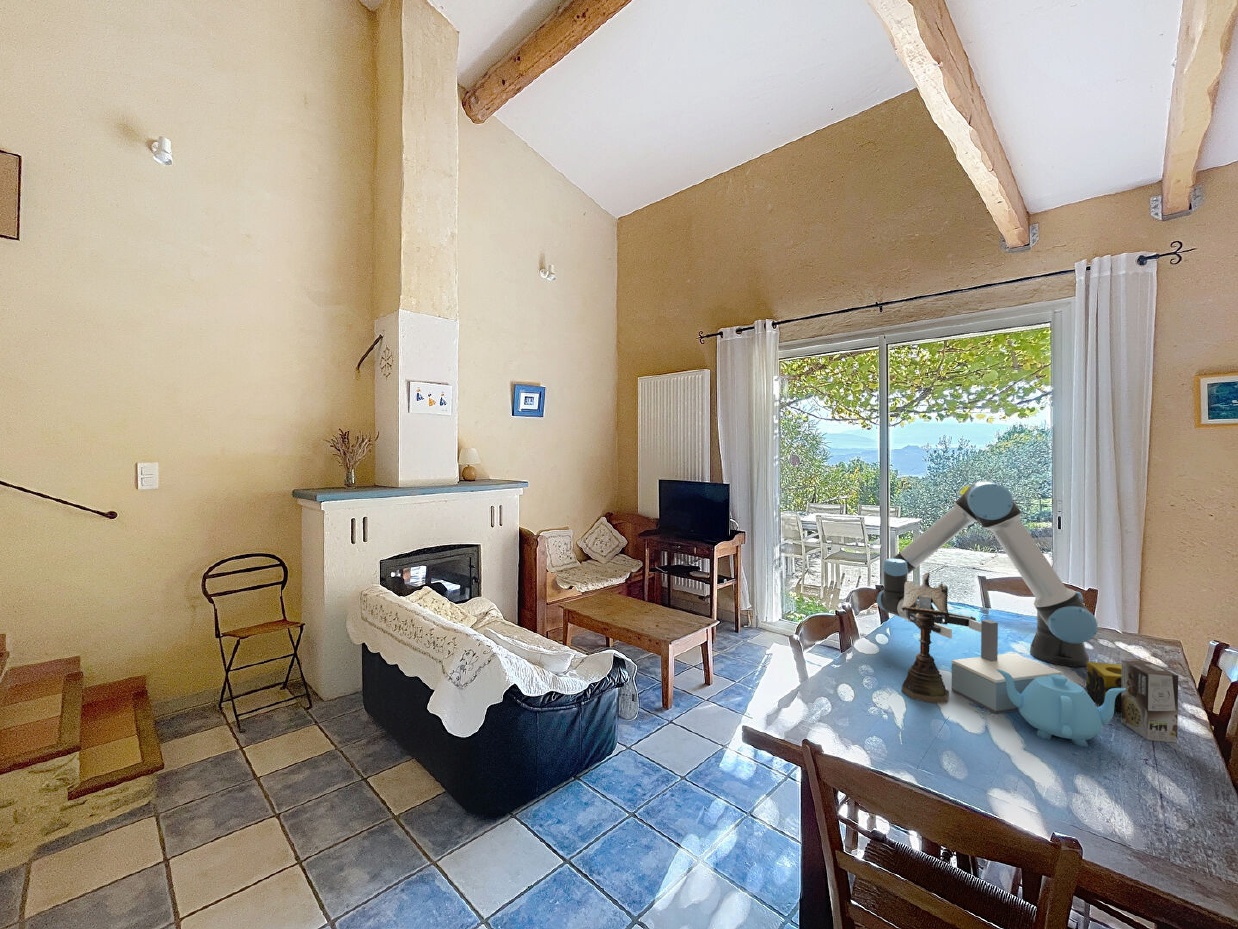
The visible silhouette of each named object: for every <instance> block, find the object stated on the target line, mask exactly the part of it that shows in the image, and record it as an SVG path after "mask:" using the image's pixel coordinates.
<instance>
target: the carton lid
mask: <svg viewBox="0 0 1238 929" xmlns="http://www.w3.org/2000/svg"><path fill="white" fill-rule="evenodd" d="M980 623H981V632H980V633H981V634H980V635H981V636H980V637H981V638H980V644H981V645H980V656H976V657H967V658H959V659H951V664H952V663H954V664H956V665H958V666H960V667H962V668H964V669H967V670H969V671H971V672H973V673H975V674H977V675H980V676H982V677H984V678H986V679H988V680H990V681H993V682H995V683H1001V682H1006V681H1005V678H1004V677H1003V675H1002V674H1001V673H999V672H998V671H997V670H996V669H999V670H1002V671H1005V672H1007V673H1009V674H1010V675H1011V676H1012V678H1013V680H1014V681H1017V680H1025V679H1034V678H1037V677H1047V675H1052V674H1058V675H1062V676H1063V672H1062V671H1061V670H1057V669H1055V668H1053V667H1050V666H1048V665H1045V664H1043V663H1039V662H1037V661H1034V660H1032V659H1030V658H1027V657H1024V656H1022V655H1019V654H1016V653H1012V652H1011V653H1006V654H1005V653H1004V654H1002V653H1001V654H998V652H999V651H998V648H999V647H998V646H999V645H998V643H999V642H998V638H999V637H998V636H999V623H998V622H997V621H995V620H991V619H982V620H981V622H980Z"/></svg>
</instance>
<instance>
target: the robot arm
mask: <svg viewBox="0 0 1238 929" xmlns="http://www.w3.org/2000/svg"><path fill="white" fill-rule="evenodd" d="M953 505H954V506H953V507H952V508H951V509H949V510H948V511H947V512H946V513H945V514H944V515H942V516H941V517H940V518H938V520H936V521H935V522H933V523H932V525H930V526H929V527H928V528H927V529H926V530H924V531H923V532H922V533H921V534H919V536H917V537H916V538H915V539H914V540H913V541H911V542H910V543H909V544H908V545H907V546H905V547H904V548H903V549H902V550H900V552H899V553H897V554H896V555H895V556H894V557H892V558H887V559H885V560H884V561H883V590H881V591H879V592H878V595H877V597H876V603H877V605H878V607H879V608H880V609H881V610H883V611H884V612H887V613H889V614H892V615H894V616H897V617H899V618H902V619H904V620H907V621H908V622H909V623H912V624H914V625H915V626H916V627H917V628H918V629H919V630H920V631H921V628H920V626H919V625H918V624H917V623H916V622H917V618H916V617H915V615H916V614H917V613H912V611H911V610H904V611H902V612H901V613H900V611H901V608H902V605H903V601H904V585H905V582H906V581H908V576H909V574H911V573H912V572H913V571H914V570H915V569H916V568H918V567H919V566H920V565H921V564H922V563H923V562H925V561H927V559H928V558H930V557H931V556H933V555H934V554H935V553H936V552H937V551H938V550H940V549H941V548H942V547H943V546H945V545H946V544H947V543H948V542H949V541H951V540H952V539H953V538H955V537H956V536H957V535H958V534H960V533H961V532H962V531H963V530H964V529H965V528H968V527H969V525H971V523H978V522H979V523H980V525H981V527H982V528H983V529H984V530H987V531H988V530H989V531H990V532H991V533H992V534H993V536H994V537H995V538H996V540H997V541H998V543H999V545H1000V547H1002V549H1003V551H1004V552H1005V554H1006V555H1007V557H1008V558H1009V560H1010V561H1011V563H1012V565H1013V566H1014V567H1015V569H1016V570H1017V573H1018V574H1019V576H1021V578H1022V580H1023V581H1024V583H1025V584H1026V586H1027V587H1028V588H1029V590H1030V592H1031V593H1032V594H1033V596H1034V602H1033V606H1034V608H1035V609H1036V633H1035V635H1034V637H1033V639H1032V642H1031V644H1030V647H1029V648H1030V650H1029V653H1030V655H1032V656H1033V657H1035V658H1036V659H1038V660H1041V661H1043V662H1048V663H1051V664H1055V665H1061V666H1066V667H1087V662H1090V657H1089V654H1088V652H1087V649H1086V646H1085V643H1086V642H1089V641H1091V640H1092V639H1093V638H1094V637H1095V636H1096V635H1097V632H1098V622H1097V619H1096V617H1095V615H1094V614H1093V613H1092V612H1090V611H1089V609H1088V608H1087V607H1086V606H1085V604H1084V597H1083V593H1081V592H1079V591H1075V590H1074V589H1072V588H1071V589H1070V588H1068V587H1066V586H1065V584H1064V583H1063V581H1062V580H1061V578H1060V577H1059V575H1058V574H1057V572H1056V571H1055V569H1054V568H1053V567H1052V565H1051V564H1050V562H1049V560H1048V559H1047V557H1046V556H1045V555H1044V553H1043V552H1042V550H1041V549H1040V547H1039V546H1038V544H1037V543H1036V541H1035V540H1034V538H1033V536H1031V534H1030V532H1029V531H1028V529H1027V527H1026V526H1025V525H1024V524H1023V522H1022V520H1021V516H1022V511H1021V510H1020V508H1019V506H1018V505H1017V503H1016V502H1015V500H1014V499H1013V496H1012V493H1011V492H1010V491H1009V490H1008V489H1007V488H1006V487H1005V486H1004V485H1002V484H1000V483H997V482H994V481H991V480H979V481H976V482H974V483H972V484H971V485H970V486H969V487H968V488H967V489H966V490H965V492H964V493H963V494H962V495H961V496H960V497H959V498H958V499H956V500H955V501H954V502H953ZM918 603H919V599H917V601H916V602H915V603H914V604H913V605H912V606H911V607H912V608H915V607H916V606H917V604H918ZM948 613H949V616H950V620H949V619H948V618H947V617H946V616H945V615H944V614H938V613H937V614H938V616H935V615H934V616H935V618H936V619H935V620H934V623H935V625H934V627H931V630H930V634H932V632H933V633H935V634H938V635H941V636H943V637H945V638H947V639H952V637H953V629H952V628H949V627H947V626H945V625H948V624H949V625H956V626H960V627H961V626H962V627H968V628H969V629H970V630H971V629H972V630H974V631H976V632H978V633H981V622H980V621H977V619H976V617H974V616H973V615H972V616H969V615H963V614H958V613H954V612H949V611H948Z"/></svg>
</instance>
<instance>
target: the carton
mask: <svg viewBox="0 0 1238 929" xmlns="http://www.w3.org/2000/svg"><path fill="white" fill-rule="evenodd" d="M1034 679H1035V678H1034ZM1034 679H1025V680H1017V681H1014V685H1015V689H1016V691H1017V692H1019V693H1020V694H1022V692H1023V691H1024V689H1025V688H1026V687H1027V686H1028V685H1029V684H1030V683H1031V682H1032V681H1033V680H1034ZM951 692H953V693H955V694H957V695H958V696H960V697H963V698H964V699H966V700H968V701H970V702H972V703H974V704H976V705H978V706H979V707H981V708H984V709H986V710H987V711H989V712H992V713H993V714H995V715H996V714H997V715H999V714H1005V713H1011V712H1012V713H1013V712H1019V709H1018V707H1017V706H1015V705H1014V704H1013V703H1012V702H1011V700H1010V699H1009V696H1008V693H1007V686H1006V682H1001V683H995V682H993V681H990V680H988V679H986V678H984V677H982V676H980V675H977V674H975V673H973V672H971V671H969V670H967V669H964V668H962V667H960V666H958V665H956V664H954V663H952V662H951Z"/></svg>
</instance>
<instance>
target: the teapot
mask: <svg viewBox="0 0 1238 929" xmlns="http://www.w3.org/2000/svg"><path fill="white" fill-rule="evenodd" d="M996 670H997V671H998V672H999V673H1001V674H1002V675H1003V677H1004V678H1005V681H1006V686H1007V693H1008V696H1009V699H1010V700H1011V702H1012V703H1013V704H1014V705H1015V706H1017V707H1018V709H1019V711H1018V712H1019V713H1020V715H1021V716H1022V718H1024V719H1025V720H1024V721H1026V722H1027V724H1029V725H1030V726H1032V727H1033V728H1035V729H1038V730H1037V732H1036V733H1035V734H1036V735H1037V736H1038V737H1039V738H1042V739H1048V740H1049V739H1051V738H1052V736H1055V737H1059V738H1064V739H1069V740H1071V741H1072V742H1073V744H1076V745H1077V746H1081V747H1088V746H1089V744H1088V743H1087V741H1086V740H1091V739H1092V738H1094V737H1096V736H1098V735H1099V734H1100V733H1101V732H1102V731H1103V725H1104V724H1106V723H1109V721H1111V720H1112V719H1113V717H1114V713H1115V712H1114V704H1115V698H1116V696H1117V695H1118V694H1119V693H1120V692H1122V691H1124V690H1126V688H1113V689H1110V690H1108V691H1107V693H1106V695H1105V701H1104V703H1103V705H1101V706H1097V704H1096V703H1095V702H1093V700H1092V699H1091V698H1090V696H1089V695H1088V693H1087V690H1086V689H1085V688H1084V687H1082V686H1081V685H1080V684H1077V683H1075V682H1074V681H1070V680H1068V677H1066V676H1064V675H1063V674H1062V675H1058V674H1052V675H1047V677H1037V678H1035V679H1034V680H1033V681H1032V682H1031V683H1030V684H1029V685H1028V686H1027V687H1026V688H1025V689H1024V691H1023V692H1022V694H1020V693H1019V692H1017V691H1016V689H1015V685H1014V680H1013V678H1012V676H1011V675H1010V674H1009V673H1007V672H1005V671H1002V670H999V669H996Z"/></svg>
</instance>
